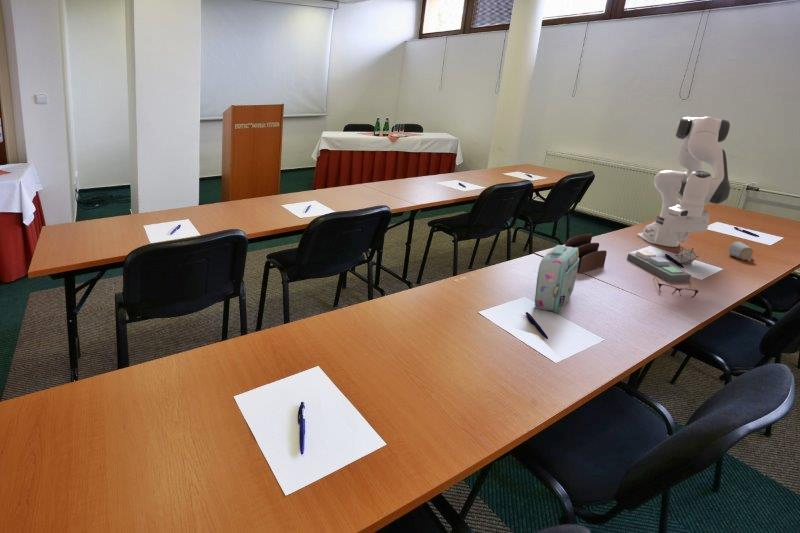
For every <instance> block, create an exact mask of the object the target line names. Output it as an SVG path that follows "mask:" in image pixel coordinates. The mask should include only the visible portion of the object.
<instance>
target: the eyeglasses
mask: <svg viewBox="0 0 800 533" xmlns="http://www.w3.org/2000/svg"><path fill="white" fill-rule="evenodd" d="M654 280H656V282H657V285H658V290H659V292H660V293H662V291H661V287H662V286H667V287H672V288H674V289H675V290H674V291H673V292H672V293H671V295H674V294H675V293H676V292H677V291H678V292H679V296H680V297H682V295H681V290H683V288H679V287H676V286H673V285H670V284H664V283H660V282H659V280H658V278H657V276H654V278H653V279H652V281H654ZM692 285H693V286H692ZM691 286H692V287H694V289H692V288H686V290H689V291H694V294H693V296H690V298H694V297H696V295H697V294H698V293H699V290H698V288H697V287H696V285H695V283H694V282H693V283H690V284H689V286H688V287H691Z"/></svg>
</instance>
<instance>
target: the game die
mask: <svg viewBox="0 0 800 533" xmlns="http://www.w3.org/2000/svg"><path fill="white" fill-rule="evenodd" d="M681 248H682V249H681V250H680V251H679V253H678V254H675V255H674V256H675V257H677V259H678V260H679V262H680V263H681V264H680V265H682V264H688V265H690V266H691V265H693V264H692V263H694V261H695V260H696V259H697V258H699V256H697V255H696V253H695V252H694V248H684V247H683V246H682V247H681Z"/></svg>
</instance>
